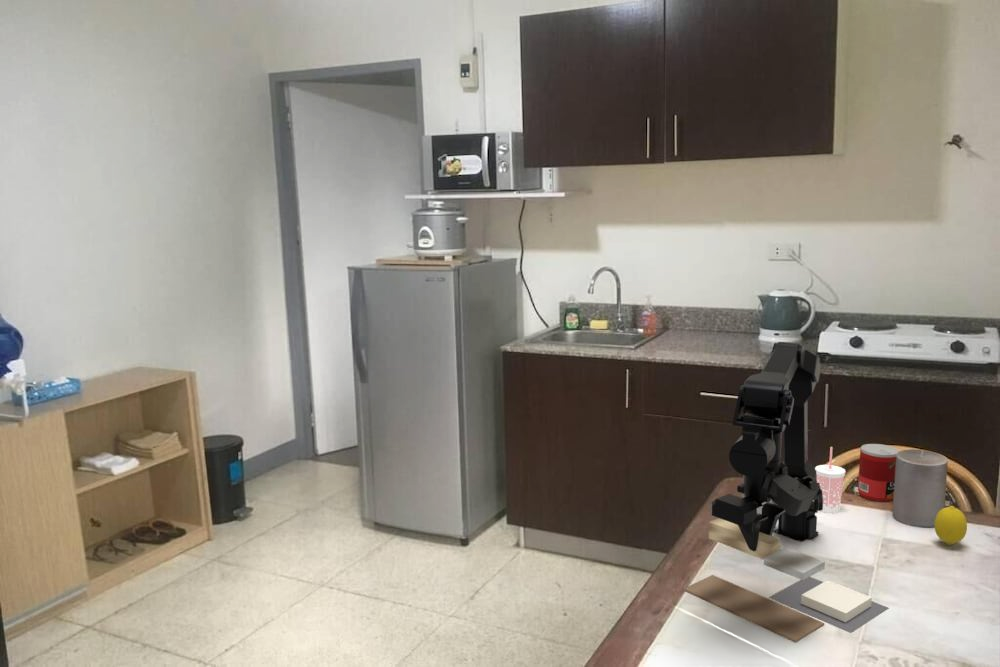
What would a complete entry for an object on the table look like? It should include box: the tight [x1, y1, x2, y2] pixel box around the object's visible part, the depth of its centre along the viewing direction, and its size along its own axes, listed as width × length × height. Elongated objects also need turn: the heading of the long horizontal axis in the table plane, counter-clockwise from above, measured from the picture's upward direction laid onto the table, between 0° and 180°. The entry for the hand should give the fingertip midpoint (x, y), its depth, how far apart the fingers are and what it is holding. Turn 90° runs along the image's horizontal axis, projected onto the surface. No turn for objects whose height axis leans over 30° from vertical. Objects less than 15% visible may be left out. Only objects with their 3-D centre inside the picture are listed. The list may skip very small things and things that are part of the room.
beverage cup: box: [814, 446, 846, 514], centre depth 182 cm, size 6×6×14 cm
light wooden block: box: [708, 518, 826, 580], centre depth 138 cm, size 19×6×3 cm, turn 38°
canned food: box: [857, 443, 899, 503], centre depth 189 cm, size 8×8×11 cm
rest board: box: [683, 574, 825, 643], centre depth 142 cm, size 22×8×1 cm, turn 38°
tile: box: [801, 580, 873, 622], centre depth 141 cm, size 2×8×8 cm
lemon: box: [934, 505, 968, 546], centre depth 164 cm, size 6×6×8 cm
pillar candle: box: [892, 448, 949, 528], centre depth 176 cm, size 10×10×15 cm
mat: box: [768, 576, 890, 634], centre depth 143 cm, size 15×12×1 cm
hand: (758, 547), depth 139 cm, fingers closed on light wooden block, 3 cm apart
